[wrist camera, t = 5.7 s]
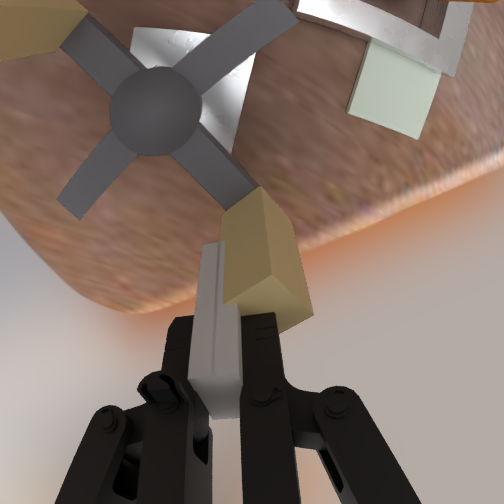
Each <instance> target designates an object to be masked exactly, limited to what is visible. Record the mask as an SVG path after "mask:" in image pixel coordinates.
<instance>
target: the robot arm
mask: <svg viewBox="0 0 504 504" xmlns="http://www.w3.org/2000/svg"><path fill="white" fill-rule="evenodd" d="M224 257H225V241H221V242H215V243H209V244H203V249H202V256H201V263H200V271H199V279H198V287H197V295H196V304H195V312H194V315H191V316H183V317H175V319H174V320H173V322H172V323H171V325H170V327H169V328H168V333H167V338H166V340H167V342H166V344H165V352H164V357H163V363H162V369H161V371H156V372H152V373H150V374H149V375H147V376H145V377H144V379H142V381H141V382H140V383H139V385H138V388H137V391H138V392H139V393H140V395H141V396H142V397H143V398H144V399H145V401H146V403H145V404H143V405H140V406H137V407H134V408H131V409H127V410H124V411H123V410H122V409H120V408H119V407H117V406H113V405H108V406H104V407H102V408H100V409H99V410H98V411H96V413H95V414H94V416H93V417H92V419H91V421H90V423H89V425H88V428H87V430H86V432H85V434H84V436H83V438H82V441H81V443H80V445H79V447H78V449H77V452H76V454H75V456H74V458H73V461H72V463H71V466H70V468H69V470H68V472H67V475H66V477H65V480H64V482H63V484H62V487H61V489H60V492H59V494H58V496H57V499H56V501H55V504H212V446H213V444H212V443H213V442H212V441H213V435H212V430H211V428H210V427H209V415H210V416H211V417H212V419H213V420H216V419H228V418H240V436H241V464H242V490H243V504H301V497H300V489H299V480H298V471H297V463H296V455H295V447H300V448H307V449H314V450H316V451H317V453H318V455H319V457H320V459H321V461H322V464H323V466H324V468H325V470H326V472H327V474H328V476H329V478H330V480H331V483H332V485H333V487H334V489H335V491H336V493H337V495H338V497H339V499H340V502H341V503H342V504H421V502H420V500H419V498H418V497H417V495H416V493H415V491H414V490H413V488H412V486H411V484H410V483H409V481H408V479H407V477H406V476H405V474H404V472H403V470H402V469H401V467H400V465H399V464H398V462H397V460H396V458H395V457H394V455H393V453H392V451H391V450H390V448H389V446H388V445H387V443H386V441H385V439H384V438H383V436H382V434H381V433H380V431H379V429H378V428H377V426H376V424H375V422H374V421H373V419H372V418H371V416H370V414H369V412H368V411H367V409H366V407H365V406H364V404H363V402H362V401H361V399H360V397H359V396H358V395H357V394H356V393H355V392H354V390H352V389H349V388H347V387H344V386H334V387H329V388H327V389H325V390H323V391H322V392H320V393H317V392H309V391H303V390H299V389H297V388H295V387H293V386H292V385H290V383H288V381H287V380H286V378H285V375H284V368H283V360H282V353H281V345H280V338H279V332H278V326H277V320H276V314H275V312H269V313H262V314H254V315H247V316H240V312H239V308H238V305H237V303H235V304H227V305H223V282H224Z"/></svg>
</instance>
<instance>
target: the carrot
mask: <svg viewBox="0 0 504 504" xmlns="http://www.w3.org/2000/svg"><path fill="white" fill-rule="evenodd" d="M442 1H455V2H484V3H493V2H497V1H499V0H442Z"/></svg>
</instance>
